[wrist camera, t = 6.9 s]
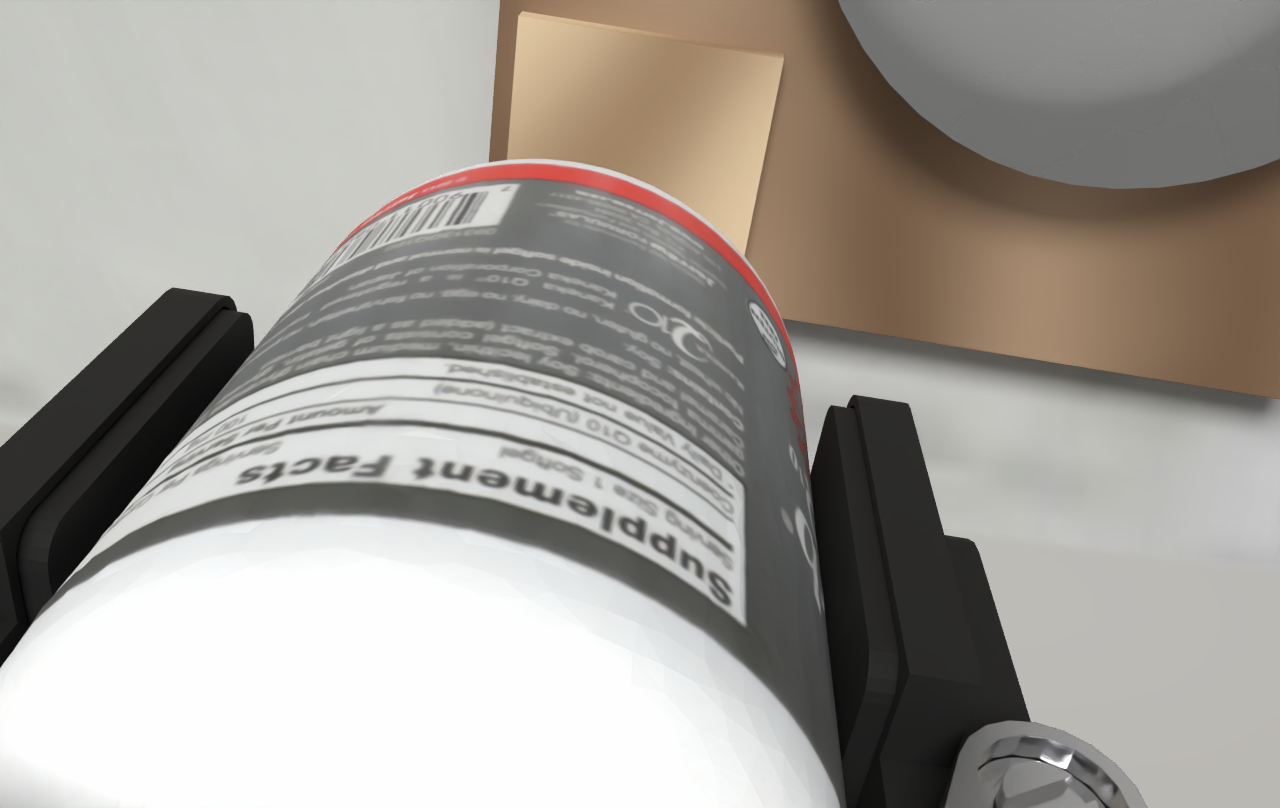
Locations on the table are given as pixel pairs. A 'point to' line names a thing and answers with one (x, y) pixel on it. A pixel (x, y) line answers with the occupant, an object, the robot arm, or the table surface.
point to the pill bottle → (464, 538)
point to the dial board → (891, 193)
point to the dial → (1089, 82)
